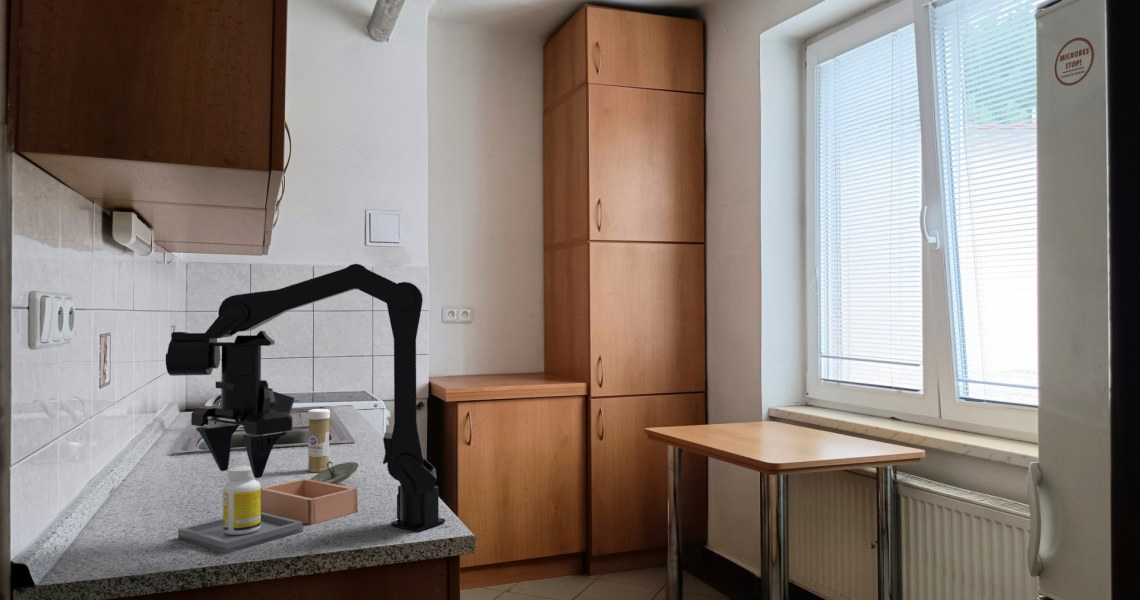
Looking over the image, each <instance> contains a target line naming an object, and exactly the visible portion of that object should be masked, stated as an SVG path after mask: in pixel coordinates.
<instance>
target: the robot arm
mask: <svg viewBox="0 0 1140 600" xmlns="http://www.w3.org/2000/svg"><path fill="white" fill-rule="evenodd" d="M354 290H358V291H361V292H363V293H365V294H367V295H369V296H370V297H373V298H375V299H377V300H379V301H381V302H384V303H385V304H386V306H387V311H388V312H387V313H388V316H389V317H388V319H389V323H390V328H391V332H392V336H393V393H394V394H393V397H394V398H393V400H394V403H393V404H394V405H393V408H394V410H393V412H394V413H393V416H394V422H393V430H392V432H384V433H383V438H382V441H383V447H384V456H383V461H382V465H385V464H387V465H386V468H387V472H388V473H389V475H390V477H392V478H393V479H394V480H396V481H398V482H399V484H400V485H398V486H397V494H396V520H393V521H391V522H390V525H391V526H392V527H398V528H401V529H402V528H403V529H406V530H412V531H415V532H420V531H423V530H427V529H428V528H432V527H436V526H438V525H441V524H444V523H446V518H442V517H439V511H440V509H439V504H440V503H439V501H440V500H439V499H440V498H439V496H440V495H439V489H440V488H439V487H440V486H438V485H436V484H437V480H438V479H437V478H438V477H437V469H436V467H435V466H433V465H432V463H430V462H429V461H428V460H427V459H426V458H425V457H424V452H423V451H424V450H423V446H422V441H421V435H420V431H419V425H418V421H417V337H418V336H417V335H418V330H419V324H420V319H421V312H422V307H423V301H424V299H423V293H422V292H421V289H420V288H419V287H417V286H416V284H413V283H412V282H409V281H408V282H407V281H403V282H402V281H401V282H398V283H397V282H395V281H393V280H391V279H389V278H386V277H385V276H382V275H380V274H377V273H376V272H373V271H371V270H369V269H367V267H365V266H364V265H362V264H361V263H360V264H359V263H352V264H350V265H348V266H347V267H345V268H342V269H339V270H335V271H331V272H329V273H326V274H322V275H320V276H316V277H313V278H310V279H306V280H303V281H300V282H296V283H293V284H290V285H288V286H285V287H282V288H279V289H273V290H272V289H271V290H264V291H263V290H262V291H254V292H247V293H241V294H240V293H239V294H233V295H230V296H228V297H226V298H225V299H223V301H222V302H221V304H220V306H219V308H218V316H217V317H216V319H214V321H213V322H212V324H211V325H210V326H208V328H207V330H206V331H205V332H186V331H173V332H171V333H170V334H171V335H170V337H171V339H170V342H169V344H168V347H167V352H166V353H165V365H166V366H165V367H166V371H167V374H168V376H170V377H171V376H173V377H174V376H211V374H212V372H213V369H219V367H220V362H221V373H220V374H221V376H220V377H221V378H220V379H221V380H220V381H215V389H220V391H221V393H220V395H221V397H220V399H221V401H220V404H215V405H206V406H198V407H195V409H194V410H193V411H192V413H191V420H190V421H191V426H196V428H195V431H196V432H199V435H200V436H201V438H202V439H203V441H204V443H205V445H206V447H207V448H208V449H209V451H210V454H211V455H212V458H213V459H214V462H215V464H216V465H217V468H218V469H219V471H220V472H224V471H227V470H229V464H230V459H231V458H230V457H231V448H232V447H231V446H232V437H233V435H234V433H235V432H236V431H237V430H238V428H239V427H240V426H242V428H243V430H244V432H245V434H244V435H242V438H243V442H244V446H245V450H246V454H247V457H248V462H249V466H251V469H252V472H253V475H254V479H260V478H262V477H263V474H264V471H265V469H266V466H267V464H268V460H269V458H270V454H271V452H272V450H273V447H274V445H275V444H276V443H277V441H279V439H281V437H284V436H286V435H287V434H288V432H291V431H293V428H294V427H293V426H294V422H293V421H294V419H293V417H292V415H291V412H292V408H293V405H294V403H295V399H296V398H295V397H293V396H290V395H287V394H283V393H280V392H277V391H274V389H273V388H269V383H268V381H267V380H265V379H264V380H263V379H262V374H261V373H262V347H264V346H265V347H269V346H273V345H275V343H276V342H275V340H274V339H272V337H270V336H269V335H268V334H267V333H266V330H259V331H258V333H257V334H254V335H252V334H251V335H248V334H247V335H243V334H242V335H241V334H239V335H236V334H237V333H238V332H249V331H252V330H255V329H258V328H259V327H261V326H262V325H265V324H267V323H269V322H271V321H272V320H274V319H276V318H277V317H279V316H281V315H283V314H285V313H287V312H289V311H291V310H295V309H299V308H301V307H305V306H308V305H311V304H314V303H317V302H320V301H323V300H326V299H329V298H332V297H335V296H338V295H341V294H345V293H348V292H350V291H354ZM234 335H236V336H235V340H234V341H218V339H223V338H229V337H230V338H231V337H232V336H234Z"/></svg>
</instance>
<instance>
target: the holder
mask: <svg viewBox="0 0 1140 600" xmlns="http://www.w3.org/2000/svg"><path fill="white" fill-rule="evenodd" d="M310 479H311V478H310ZM310 479H309V478H301V479H298V480H297V479H296V480H292V481H288V482H283V483H279V484H274V485H270V486H266V487H265V486H264V487H260V488H261V512H264V513H268V514H272V515H276V516H280V517H284V518H288V519H292V520H296V521H300V522H303V524H307V525H315V524H318V523H322V522H325V521H330V520H333V519H337V518H339V517H343V516H347V515H350V514H354V513H357V512H358V488H357V487H356V488H355V487H351V486H350V487H349V486H345V485H340V484H330V483H325V482H320V481H315V480H310Z"/></svg>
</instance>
